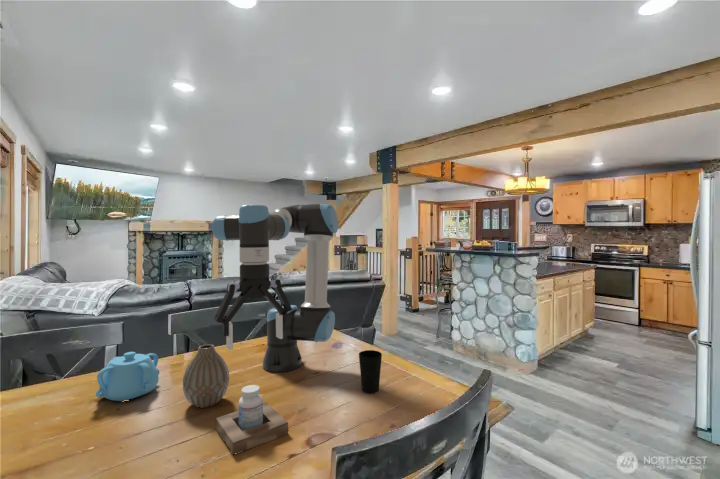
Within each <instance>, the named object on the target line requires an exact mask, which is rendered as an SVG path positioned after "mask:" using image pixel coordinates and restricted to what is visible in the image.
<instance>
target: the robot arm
mask: <svg viewBox="0 0 720 479" xmlns="http://www.w3.org/2000/svg"><path fill="white" fill-rule="evenodd" d="M238 212H239V213H238V214H234V215H226V214H225V215H219V216H216V217H215V218H214V219H213V221H212V224H211V228H212V235H213V236H214V238H216V239H217V240H219V241H226V242H228V241H239V263H241V264H240V265H239V283H231V282H229V283H227V286H226V292H225V295H224V296H223V298H222V301H221V302H220V305H219V307H218V309H217V312H216V314H215V316H214V318H213V319H214V320H213V321H216V322H217V323H219V324H220V323H221V325H222V327H221V329H222V332H221V333H222V335H223V337H226V339H225V340H226V341H225V342H226V343H225V344H226V348H227V349H228V350H229V351H230V350H233V349H234V343H233V342H234V341H233V340H234V335H233V332H234V331H233V328H234V327H233V325H234V324H233V323H232V322H231V321H232V319H233V318H234V317H235V315H236V314H237V313H238V311H240V309H241V307H242V306H243V304H245V303H246V302H247V301H248V300H254V299H263V297H264V298H265V299H266V300H267V302H268V303H270V305H271V306H272V307H273V308H271V309H269V310H268V311H267V315H266V316H267V317H266V332H267V333H266V342H267V343H266V344H267V346H266V350H265V353H264V357H263V359H262V368H263V370H265V371H268V372H271V373H283V372H289V371H293V370H296V369H298V368H300V367H301V366H302V364H303V362H302V359H303V357H302V355H301V353H300V352H301V351H300V349H299V346H298V341H304V342H314V343H319V342H320V343H322V342H327V341H328V340H330V338H331V337H332V334H333V332H334V328H335V324H336V315H335V312H334V311H332V310H331V305H330V304H329V303H328V299H327V298H328V277H329V276H328V275H329V274H328V273H329V253H330V252H329V249H330V247H329V246H330V241H331V240H332V239H333V238H334V234H335V233H337V232H338V230H339V220H338V219H339V218H338V213H337V212H336V209H335V207H334V205H332V204H329V203H327V204H326V203H313V204H311V203H309V204H294V205H288V206H284V207H278V208H275V209H274V210H272V211H270V210H269V208H268V206H267V205H265V204H263V205H262V204H243V205H241V206H240V207H239V210H238ZM289 233H294V234H295V233H296V234H297V233H298V234H303V238H304V239H305V240H306V241H307V244H306V245H307V246H306V267H305V289H304V290H305V291H304V301H303V303H301V305H300V309H298V307H297V306H298V305H294V304H290V301H289V300H288V297H287V296H286V294H285V292H284V290H283V288H282V282H281V279H278V278H274V279H273V280H270V264H269V263H268V262H269V261H270V244H269V243H270V241H280V240H283V239H285V238H287V236H288V235H289ZM271 287H272V288H273V289H274V291H275V293H276V295H277V297H278V299H279V301H280V303H281V304H280V303H279V302H278V300H276V298H275V297H274V296H273V295H272V294H271V292H270V291H269V289H270V288H271ZM238 290H239V291H240V293H239V295H238V296H237V298H236V300H235V301H234V303H232V304H231V302H232V300H233V297H234V295H235V293H237V291H238ZM230 304H231V306H230ZM229 307H230V308H229ZM227 310H228V311H227Z"/></svg>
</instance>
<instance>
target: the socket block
mask: <svg viewBox="0 0 720 479" xmlns="http://www.w3.org/2000/svg"><path fill="white" fill-rule="evenodd" d="M216 429H217V430H218V432H219V433H220V435H221V436H222V438H223V439H224V441H225V442H226V444H227V445H228V447H229V448H230V450H231V451H232V453H233V454H235V453H238V452H241V451H244V450H246V451H248V450H247V449H249V448H251V449H253V448H252V447H254V446H256V447H258V446H257V445H259V446H261V445H264V444H266V443H268V441H269V442H271V441H273V440H276V439H278V437H279V438H281V437H283V436H287V435H288V434H289V422H288V420H286V419H285V418H284V417H283V416H282V415H281V414H280V413H279V412H278V411H277V410H276V409H274V407H273V406H272V405H271V404H269V403H268V402H267V401H264V402H263V424H262V425H259V426H256V427H254V428H251V429H248V430H245V431H241V429H240V428H239V410H236V411H233V412H230V413H226V414H224V415H221V416H218V417H215V430H216ZM217 430H216V431H217ZM218 432H217V433H218ZM219 433H218V434H219ZM220 435H219V436H220ZM221 436H220V437H221ZM222 438H221V439H222ZM223 439H222V440H223ZM224 441H223V442H224ZM225 442H224V443H225ZM263 443H264V444H263ZM226 444H225V445H226ZM260 444H261V445H260ZM227 445H226V446H227ZM228 447H227V448H228ZM229 448H228V449H229ZM254 448H255V447H254ZM230 450H229V451H230ZM249 450H250V449H249ZM231 451H230V452H231ZM244 452H245V451H244ZM232 453H231V454H232ZM241 453H242V452H241ZM233 454H232V455H233ZM238 454H239V453H238Z"/></svg>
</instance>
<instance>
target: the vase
mask: <svg viewBox="0 0 720 479" xmlns="http://www.w3.org/2000/svg"><path fill="white" fill-rule="evenodd" d="M229 384H230V371H229V367H228V364H227V362H226V360H225V359H224V358H223V356H221V355H220V353H218V351H217V350H216V348H215V345H214V344H208V343H206V344H202V345H199V346H198V349H197V352H196V353H195V355H193V357H192V358H191V360H190V361H189V363H188V365H187V367H186V368H185V371H184V373H183V379H182V391H183V394H184V398H185V399H186V400H187V401H188V403H190V404H191V405H192V406H194V407H196V408H198V407H200V408H199V409H204V407H206V408H210V407H213V406H215V405H216V404H218V403H219V402H220V401H221V400H222V399H223V397H224V396H225V395H226V392H227V390H228V388H229ZM212 405H213V406H212ZM209 406H210V407H209Z"/></svg>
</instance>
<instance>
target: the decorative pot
mask: <svg viewBox="0 0 720 479" xmlns="http://www.w3.org/2000/svg"><path fill="white" fill-rule="evenodd" d="M151 357H153V360H152V358H151ZM158 363H159V356H158V355H157V354H156V353H153V352H150V353H147V354H146V353H145V354H144V353H136V351H128V352H125V353H123V356H114V357H112V358H111V359H110V360H109V362H108V363H107V365H106V366H105V367H103V368H102V369H100V371H99V372H97V376H96V379H97V384H98V385H99V386H98V387H99V388H98V389H97V390H96V391H95V396H96V397H97V398H98V399H101V398H105V399H107V400H110V401H115V402H116V401H117V402H121V401H124V400H129V399H131V400H133V399H134V398H138V397H141V396H144V395H146V394H149V393H150V392H152V391H153V390H154V389H155V388H156V387H157V385H158V383H159V382H160V381H159V380H160V378H159V375H160V370H159V369H158V368H157V366H158ZM148 392H149V393H148Z"/></svg>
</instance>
